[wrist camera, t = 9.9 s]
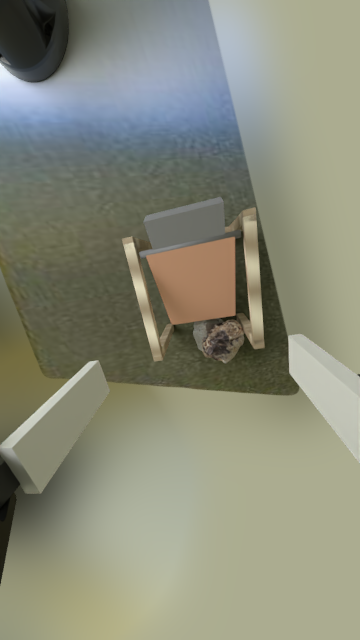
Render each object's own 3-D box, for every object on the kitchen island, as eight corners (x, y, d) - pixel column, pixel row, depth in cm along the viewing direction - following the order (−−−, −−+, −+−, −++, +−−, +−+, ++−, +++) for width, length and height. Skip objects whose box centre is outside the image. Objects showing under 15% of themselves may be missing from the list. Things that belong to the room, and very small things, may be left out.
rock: (248, 308, 33) (255, 362, 34) (225, 310, 45) (230, 350, 46) (200, 316, 32) (208, 371, 33) (188, 315, 44) (195, 356, 44)
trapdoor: (132, 219, 25) (128, 226, 23) (236, 192, 23) (241, 198, 21) (168, 316, 39) (168, 325, 37) (236, 305, 36) (239, 314, 35)
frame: (149, 246, 39) (121, 239, 26) (234, 226, 37) (255, 207, 23) (168, 329, 45) (154, 361, 31) (243, 318, 42) (264, 347, 28)
